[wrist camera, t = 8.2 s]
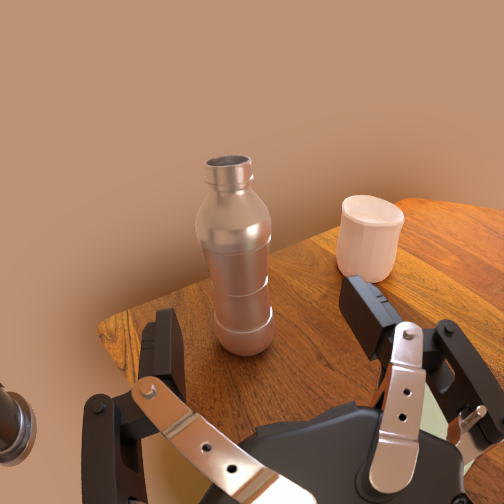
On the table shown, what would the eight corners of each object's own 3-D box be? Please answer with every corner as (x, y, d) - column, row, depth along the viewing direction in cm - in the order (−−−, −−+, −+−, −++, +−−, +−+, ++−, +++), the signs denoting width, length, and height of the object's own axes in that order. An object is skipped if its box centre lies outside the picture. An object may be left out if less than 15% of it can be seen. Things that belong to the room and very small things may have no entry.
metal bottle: (236, 373, 27) (206, 179, 17) (208, 333, 32) (173, 162, 22) (287, 346, 30) (289, 160, 19) (254, 312, 35) (241, 147, 24)
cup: (358, 294, 36) (370, 230, 31) (320, 257, 44) (324, 200, 39) (404, 274, 39) (418, 217, 34) (365, 244, 47) (372, 191, 42)
